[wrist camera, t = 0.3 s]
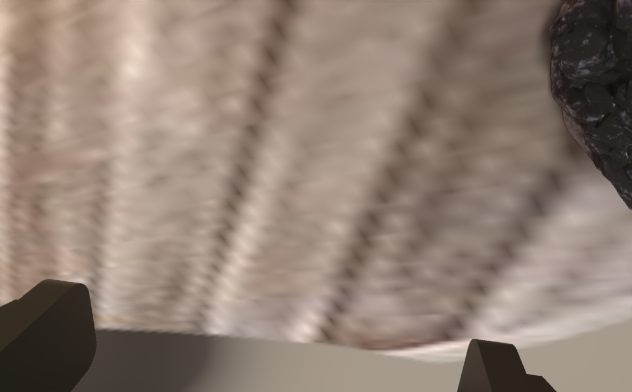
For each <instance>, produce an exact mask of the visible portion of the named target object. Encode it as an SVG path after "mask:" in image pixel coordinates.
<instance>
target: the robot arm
mask: <svg viewBox="0 0 632 392" xmlns="http://www.w3.org/2000/svg"><path fill="white" fill-rule="evenodd" d="M95 351H96V335H95V328H94V321H93V315H92V308H91V302H90V295H89V291H88V288H87V287H86V286H85V285H84V284H81V283H74V282H67V281H60V280H52V279H46V280H43V281H42V282H40V283H39V284H37V285H36V286H35V287H34V288H32V289H31V290H30V291H29V292H28V293H26V294H25V295H24V296H23V297H21V298H20V299H19V300H14V301H12V302H10V303H8V304H5V305H3V306H1V307H0V392H71V391H72V390H73V388H74V387H75V386H76V385H77V383H78V382H79V381H80V379H81V378H82V377H83V376H84V375H85V373H86V372H87V370H88V369H89V367H90V366H91V364H92V361H93V359H94V356H95ZM457 392H556V391H555V390H554V389H553V387H552V386H551V385H550V384H549V383H548V382H547V381H546V380H545V379H544V378H543V377H542V376H537V375H529V374H526V372H525V369H524V366H523V364H522V362H521V359H520V357H519V354H518V352H517V349H516V348H515V346H514V345H513V344H508V343H500V342H493V341H486V340H479V339H472V340H471V342H470V344H469V347H468V350H467V354H466V358H465V363H464V366H463V370H462V374H461V379H460V382H459V386H458V390H457Z"/></svg>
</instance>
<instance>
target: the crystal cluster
mask: <svg viewBox="0 0 632 392" xmlns="http://www.w3.org/2000/svg"><path fill="white" fill-rule="evenodd" d="M549 31H550V39H551V46H552V51H553V53H554V55H553V57H552V60H551V79H552V83H553V85H552V89H551V90H552V94H553V97H554V99H555V100H556V101H557V102H558V103H559V105H560V106H561V107H562V109H563V116H564V122H565V126H566V127H567V129H568V130H569V132H570V133H571V135H572V136H573V137H574V139H575V140H576V141H577V142H578V143H579V145H580V146H581V147H582V149H583V150H584V151H585V152H586V153H587V154H588V156H589V157H590V158H591V160H592V161H593V162H594V164H595V166H596V168H597V169H599V170H600V171H601V172H602V174H603V176H605V177H606V178H607V179H608V180H609V181H610V182H611V183H612V184H613V186H614V187H615V188H616V190H617V193H618V194H619V196H620V197H621V198H622V199H623V201H624V202H625V203H626V205H627V206H628V208H629V209H631V210H632V0H566V1H565V3H564V4H563V5H562V7H561V9H560V12H559V15H558V17H557V18H555V19H554V21H553V23H552V24H551V26H550V28H549Z"/></svg>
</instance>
